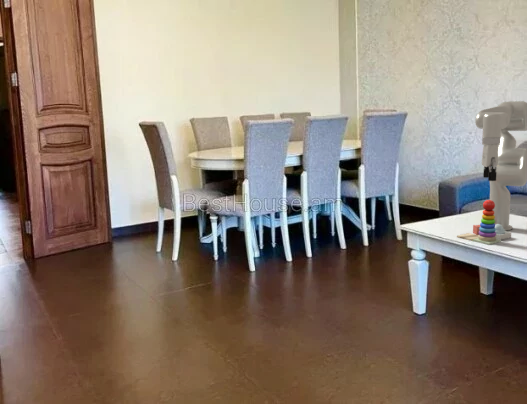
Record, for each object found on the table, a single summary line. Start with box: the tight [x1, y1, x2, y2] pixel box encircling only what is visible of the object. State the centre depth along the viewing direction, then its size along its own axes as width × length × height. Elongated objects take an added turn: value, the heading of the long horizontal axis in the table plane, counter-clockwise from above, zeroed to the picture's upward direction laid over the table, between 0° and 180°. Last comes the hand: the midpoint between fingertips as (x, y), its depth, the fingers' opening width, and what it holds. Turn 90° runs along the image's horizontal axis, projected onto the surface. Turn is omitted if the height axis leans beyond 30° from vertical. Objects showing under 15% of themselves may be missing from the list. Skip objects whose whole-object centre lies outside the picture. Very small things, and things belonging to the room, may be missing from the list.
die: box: [472, 224, 481, 235], centre depth 266 cm, size 4×4×4 cm
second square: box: [472, 238, 502, 246], centre depth 252 cm, size 8×8×1 cm
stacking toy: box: [478, 199, 496, 241], centre depth 250 cm, size 8×8×19 cm
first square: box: [456, 232, 478, 242], centre depth 259 cm, size 8×8×1 cm
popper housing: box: [496, 230, 512, 241], centre depth 258 cm, size 9×9×3 cm
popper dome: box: [494, 224, 505, 235], centre depth 257 cm, size 6×6×5 cm
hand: (489, 179), depth 246 cm, fingers open, 9 cm apart
